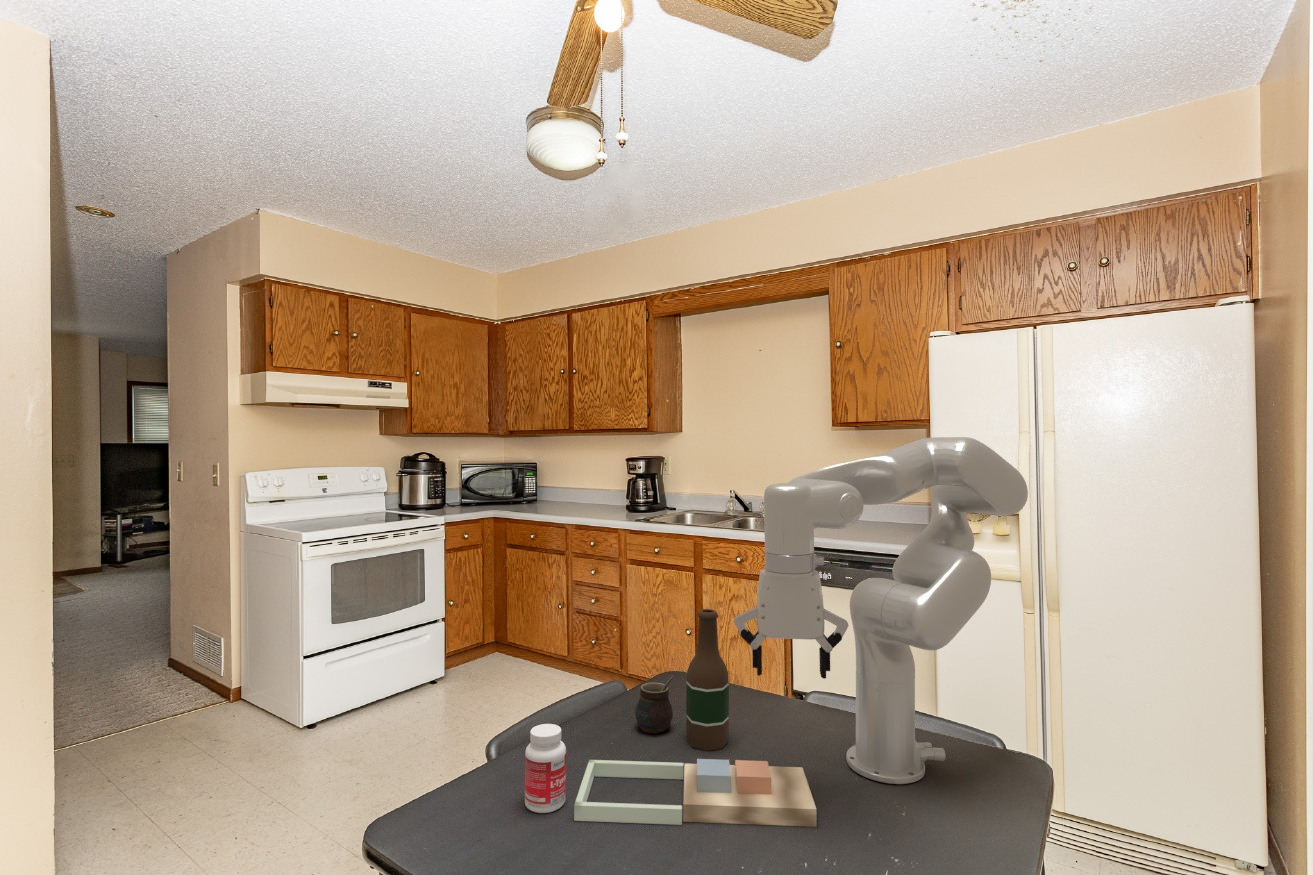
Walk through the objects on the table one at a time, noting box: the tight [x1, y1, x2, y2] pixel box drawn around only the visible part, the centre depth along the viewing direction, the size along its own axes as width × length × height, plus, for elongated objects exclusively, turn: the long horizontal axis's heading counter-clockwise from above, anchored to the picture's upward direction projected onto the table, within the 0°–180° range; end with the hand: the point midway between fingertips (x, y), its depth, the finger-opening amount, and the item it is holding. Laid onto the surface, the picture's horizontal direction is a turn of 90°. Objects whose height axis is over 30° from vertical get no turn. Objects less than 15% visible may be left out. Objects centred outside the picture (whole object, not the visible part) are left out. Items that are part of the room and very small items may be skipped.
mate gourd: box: [634, 674, 675, 734], centre depth 124 cm, size 7×8×10 cm
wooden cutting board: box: [682, 763, 818, 828], centre depth 99 cm, size 19×12×2 cm, turn 87°
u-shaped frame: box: [573, 759, 684, 826], centre depth 100 cm, size 16×14×2 cm
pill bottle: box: [524, 723, 567, 814], centre depth 98 cm, size 6×6×11 cm
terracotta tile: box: [734, 759, 771, 794], centre depth 99 cm, size 5×5×2 cm
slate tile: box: [696, 758, 731, 793], centre depth 99 cm, size 5×5×2 cm
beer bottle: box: [685, 608, 730, 752], centre depth 118 cm, size 8×8×24 cm
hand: (791, 673), depth 100 cm, fingers open, 9 cm apart
